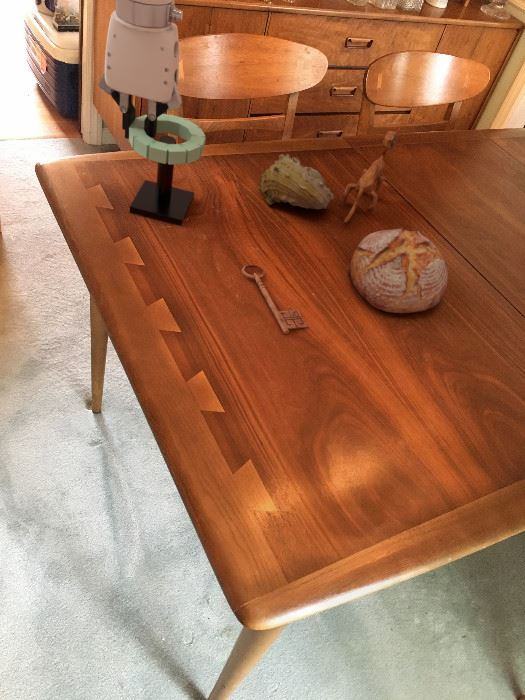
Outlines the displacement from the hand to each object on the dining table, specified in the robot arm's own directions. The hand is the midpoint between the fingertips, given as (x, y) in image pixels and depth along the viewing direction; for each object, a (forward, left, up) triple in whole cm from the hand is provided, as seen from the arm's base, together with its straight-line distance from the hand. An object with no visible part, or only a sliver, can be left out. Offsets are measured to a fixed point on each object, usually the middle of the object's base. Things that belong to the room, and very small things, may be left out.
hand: (139, 136), depth 88 cm
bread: (+47, -5, -12) cm, 48 cm away
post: (+5, 0, -11) cm, 12 cm away
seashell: (+27, +12, -12) cm, 31 cm away
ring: (+5, 0, 0) cm, 5 cm away
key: (+27, -17, -11) cm, 34 cm away
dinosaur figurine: (+40, +16, -12) cm, 44 cm away
